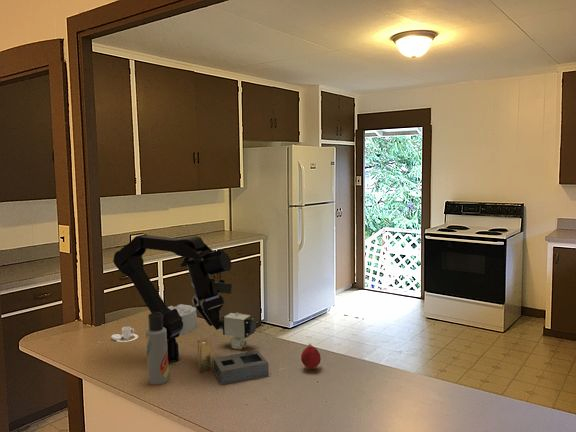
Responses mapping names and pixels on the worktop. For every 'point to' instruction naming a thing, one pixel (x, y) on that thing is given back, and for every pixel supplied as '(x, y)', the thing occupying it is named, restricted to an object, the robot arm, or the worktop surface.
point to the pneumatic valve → (237, 328)
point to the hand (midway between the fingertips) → (214, 327)
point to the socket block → (240, 367)
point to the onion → (310, 357)
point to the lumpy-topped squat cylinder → (186, 317)
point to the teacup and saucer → (124, 335)
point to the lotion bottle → (157, 350)
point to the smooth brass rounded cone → (205, 355)
